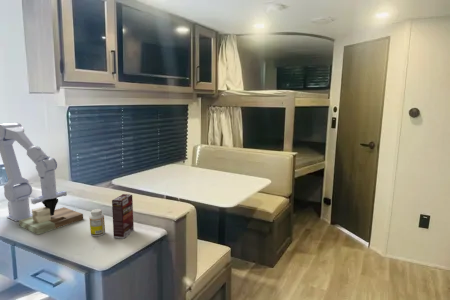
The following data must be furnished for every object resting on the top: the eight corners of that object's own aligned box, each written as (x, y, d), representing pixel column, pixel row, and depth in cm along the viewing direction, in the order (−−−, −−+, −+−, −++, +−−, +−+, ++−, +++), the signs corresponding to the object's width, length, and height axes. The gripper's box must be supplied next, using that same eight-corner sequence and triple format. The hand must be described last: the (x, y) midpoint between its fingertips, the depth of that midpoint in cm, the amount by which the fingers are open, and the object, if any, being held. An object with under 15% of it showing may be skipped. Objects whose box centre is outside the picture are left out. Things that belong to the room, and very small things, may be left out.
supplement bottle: (97, 230, 133) (96, 207, 131) (108, 232, 131) (106, 209, 129) (87, 235, 127) (85, 211, 126) (98, 238, 125) (96, 213, 124)
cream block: (33, 220, 136) (31, 209, 136) (44, 217, 140) (43, 206, 140) (38, 223, 134) (37, 212, 133) (50, 219, 138) (49, 208, 137)
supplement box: (124, 239, 124) (122, 201, 122) (113, 238, 125) (110, 200, 123) (134, 230, 133) (132, 194, 130) (124, 229, 134) (122, 193, 131)
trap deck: (19, 225, 137) (19, 220, 137) (64, 212, 154) (63, 207, 153) (38, 234, 129) (37, 228, 128) (83, 219, 145) (82, 213, 144)
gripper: (35, 191, 130) (39, 222, 132) (69, 183, 142) (71, 211, 144) (27, 188, 134) (30, 218, 136) (60, 181, 146) (63, 208, 148)
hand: (51, 215), depth 140 cm, fingers closed
